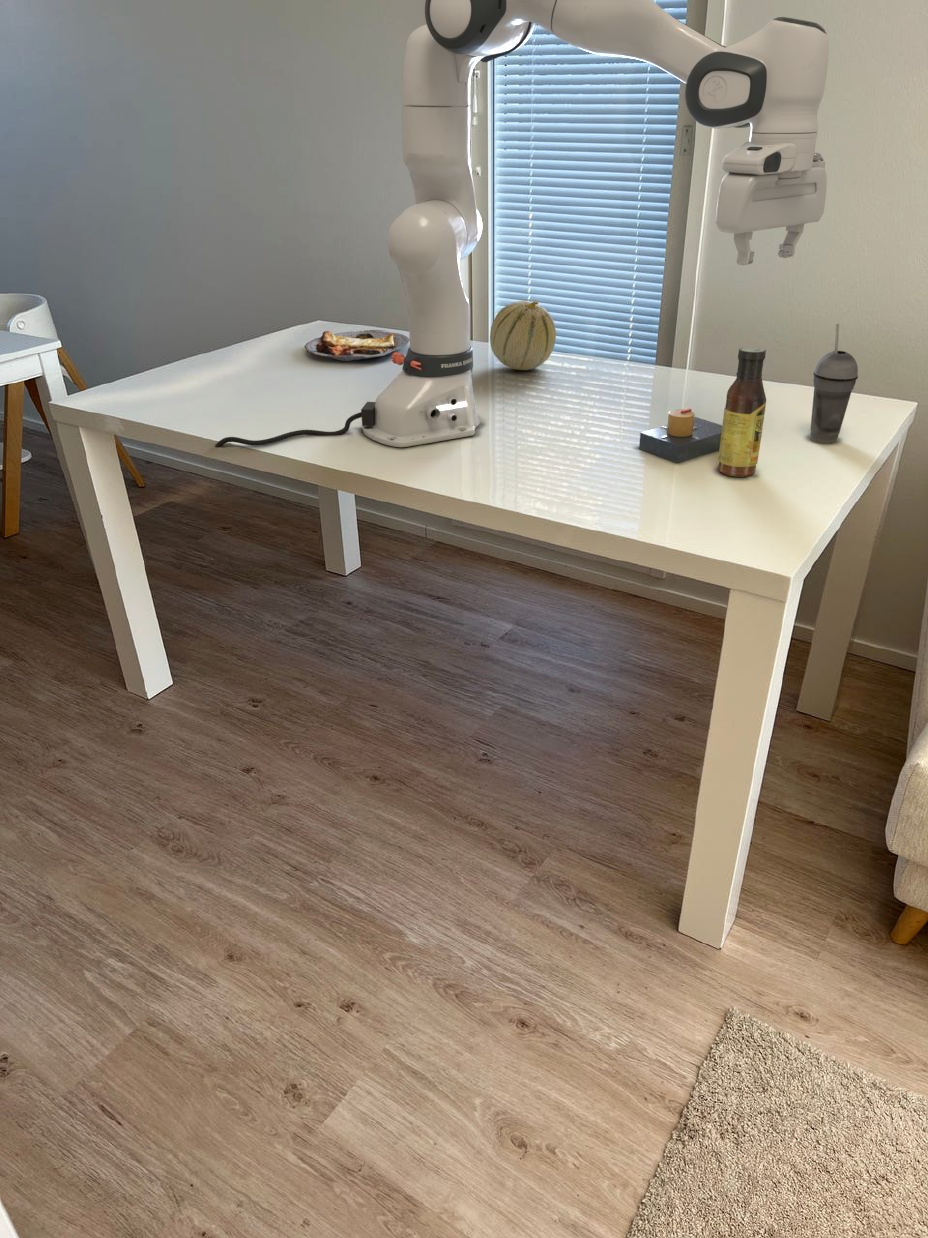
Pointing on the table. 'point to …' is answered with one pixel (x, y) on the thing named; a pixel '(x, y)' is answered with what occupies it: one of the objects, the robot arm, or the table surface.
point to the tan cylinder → (680, 422)
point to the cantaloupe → (523, 335)
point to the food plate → (356, 344)
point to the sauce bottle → (743, 416)
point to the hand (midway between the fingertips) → (765, 260)
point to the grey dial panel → (682, 441)
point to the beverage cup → (832, 393)
